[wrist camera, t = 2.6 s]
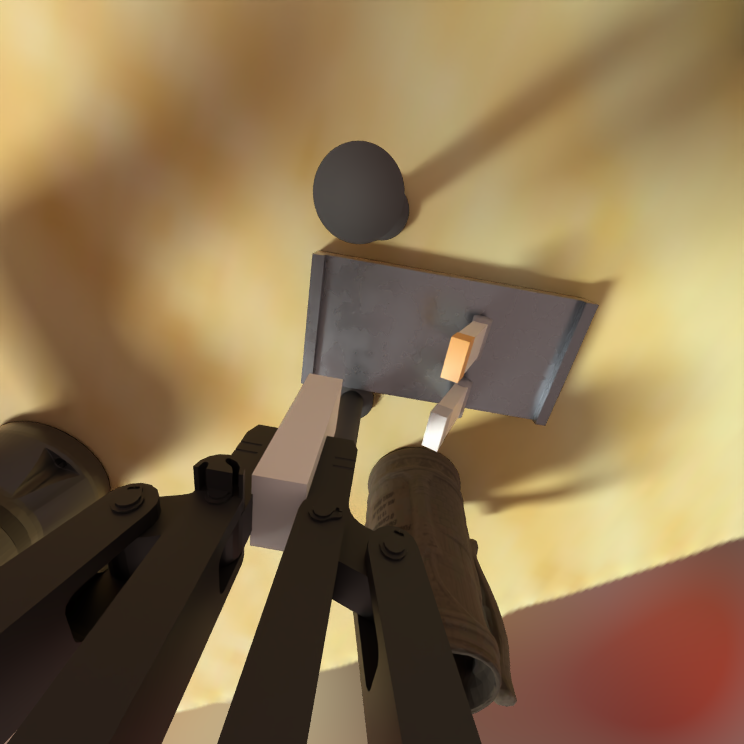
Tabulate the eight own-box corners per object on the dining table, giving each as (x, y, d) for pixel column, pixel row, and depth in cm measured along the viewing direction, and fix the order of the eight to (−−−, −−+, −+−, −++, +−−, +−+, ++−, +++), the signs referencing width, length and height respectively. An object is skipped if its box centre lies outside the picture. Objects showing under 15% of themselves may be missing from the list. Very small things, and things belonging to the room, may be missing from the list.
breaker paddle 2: (448, 407, 34) (419, 446, 27) (457, 375, 33) (429, 408, 26) (463, 413, 34) (438, 455, 27) (474, 380, 32) (450, 415, 25)
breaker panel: (307, 371, 36) (301, 383, 33) (319, 250, 31) (312, 253, 28) (534, 411, 36) (545, 425, 33) (581, 297, 31) (598, 304, 28)
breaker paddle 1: (464, 351, 32) (437, 379, 25) (476, 313, 30) (450, 332, 23) (481, 357, 31) (458, 387, 24) (494, 318, 30) (473, 339, 23)
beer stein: (346, 491, 42) (328, 708, 24) (392, 428, 38) (412, 632, 20) (450, 534, 45) (502, 753, 27) (502, 480, 41) (604, 696, 23)
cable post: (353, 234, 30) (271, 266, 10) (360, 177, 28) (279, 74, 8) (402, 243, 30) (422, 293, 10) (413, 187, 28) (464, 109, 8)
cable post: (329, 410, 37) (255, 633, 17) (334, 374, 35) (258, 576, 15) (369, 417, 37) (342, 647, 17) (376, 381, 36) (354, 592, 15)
